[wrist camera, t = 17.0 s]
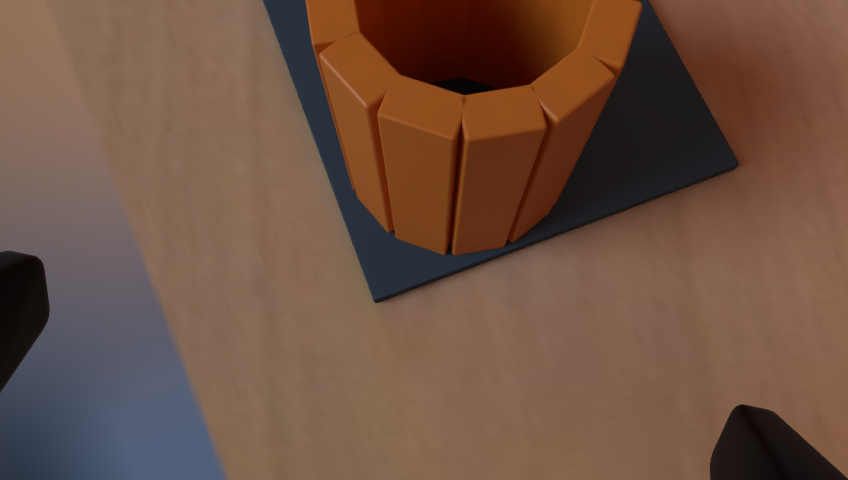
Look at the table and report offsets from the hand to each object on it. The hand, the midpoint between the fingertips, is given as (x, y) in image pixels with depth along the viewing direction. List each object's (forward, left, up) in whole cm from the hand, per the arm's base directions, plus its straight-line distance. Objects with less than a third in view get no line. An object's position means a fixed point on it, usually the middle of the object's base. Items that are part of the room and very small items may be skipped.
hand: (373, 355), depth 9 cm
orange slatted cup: (+4, +7, -11) cm, 14 cm away
